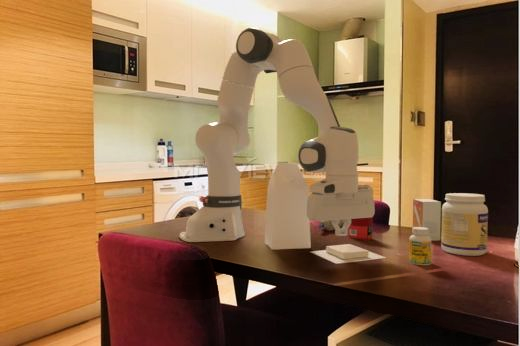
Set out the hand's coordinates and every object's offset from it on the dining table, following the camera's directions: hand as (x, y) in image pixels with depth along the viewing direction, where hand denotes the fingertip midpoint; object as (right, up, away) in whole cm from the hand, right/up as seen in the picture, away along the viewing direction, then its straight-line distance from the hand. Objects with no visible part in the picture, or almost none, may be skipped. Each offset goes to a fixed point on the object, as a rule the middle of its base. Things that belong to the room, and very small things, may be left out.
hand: (341, 235), depth 117 cm
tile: (-2, -5, -1) cm, 5 cm away
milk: (-14, -6, +14) cm, 21 cm away
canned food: (+11, -5, +25) cm, 28 cm away
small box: (+34, -5, +26) cm, 43 cm away
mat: (+2, -6, +1) cm, 7 cm away
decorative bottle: (+5, -4, +45) cm, 46 cm away
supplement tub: (+37, -6, +7) cm, 38 cm away
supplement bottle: (+19, -7, -7) cm, 22 cm away
